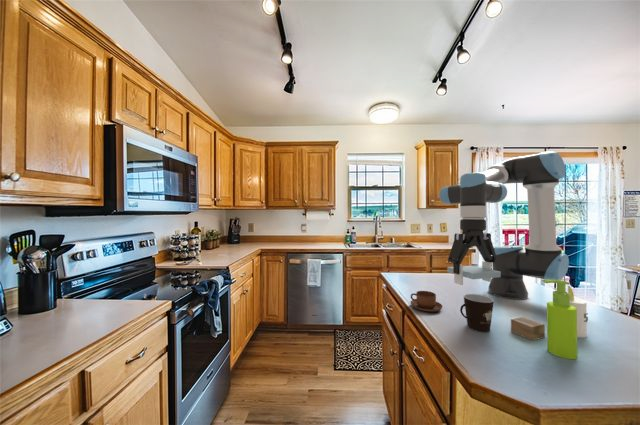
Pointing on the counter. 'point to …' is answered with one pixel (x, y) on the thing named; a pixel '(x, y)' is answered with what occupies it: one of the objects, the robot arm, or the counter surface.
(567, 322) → the soap dispenser
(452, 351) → the counter surface
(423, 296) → the cup and saucer
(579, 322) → the white bottle
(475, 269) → the lid
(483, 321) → the coffee mug
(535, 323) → the block
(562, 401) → the counter surface
